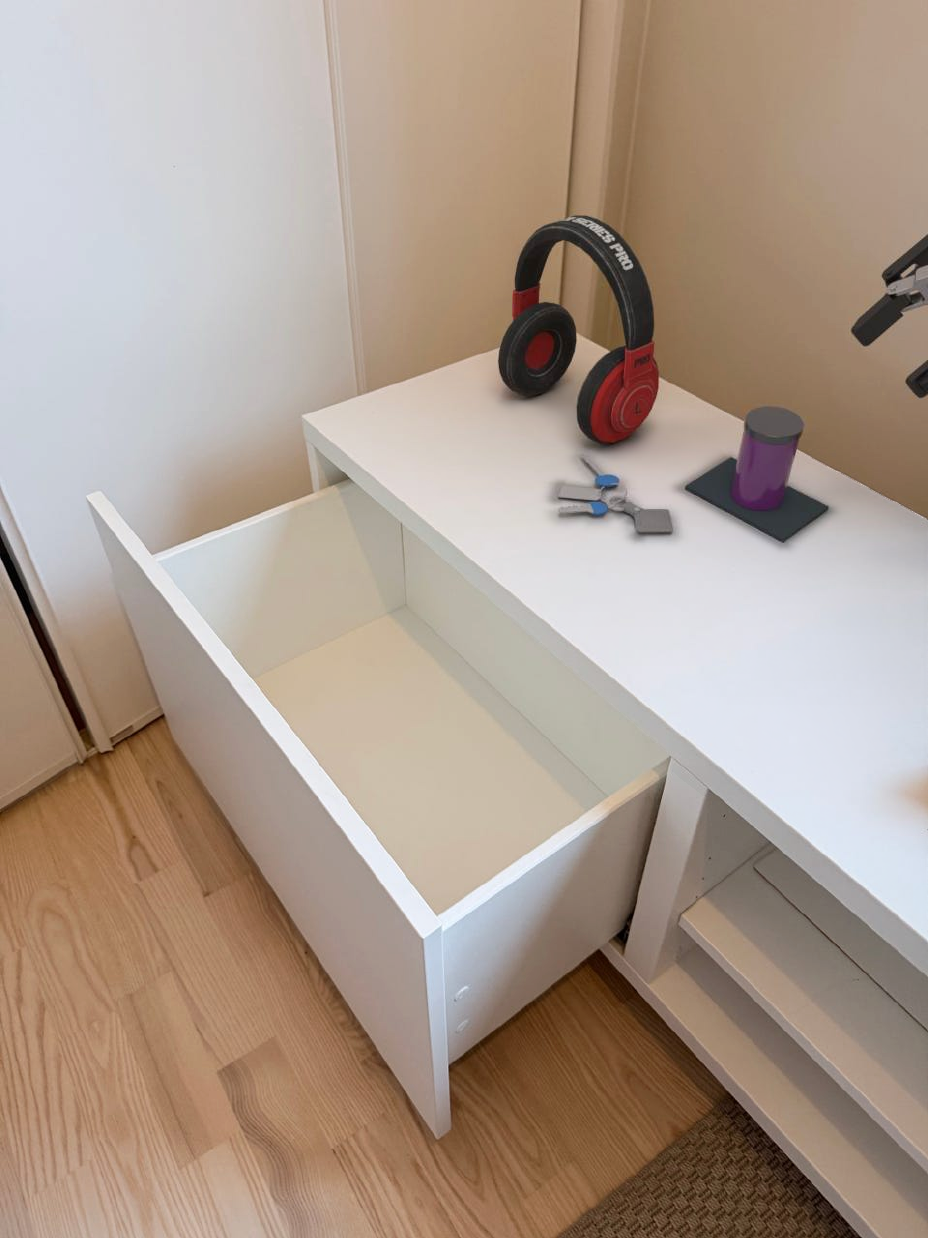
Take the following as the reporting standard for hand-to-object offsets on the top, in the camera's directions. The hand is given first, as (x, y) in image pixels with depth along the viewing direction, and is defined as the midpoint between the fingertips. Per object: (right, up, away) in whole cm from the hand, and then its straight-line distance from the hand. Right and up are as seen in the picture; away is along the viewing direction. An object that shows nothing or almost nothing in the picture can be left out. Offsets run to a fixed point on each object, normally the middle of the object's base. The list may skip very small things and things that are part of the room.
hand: (883, 363), depth 74 cm
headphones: (-22, +1, +24) cm, 33 cm away
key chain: (-21, -10, +13) cm, 26 cm away
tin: (-6, -9, +13) cm, 16 cm away
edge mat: (-6, -9, +13) cm, 17 cm away
